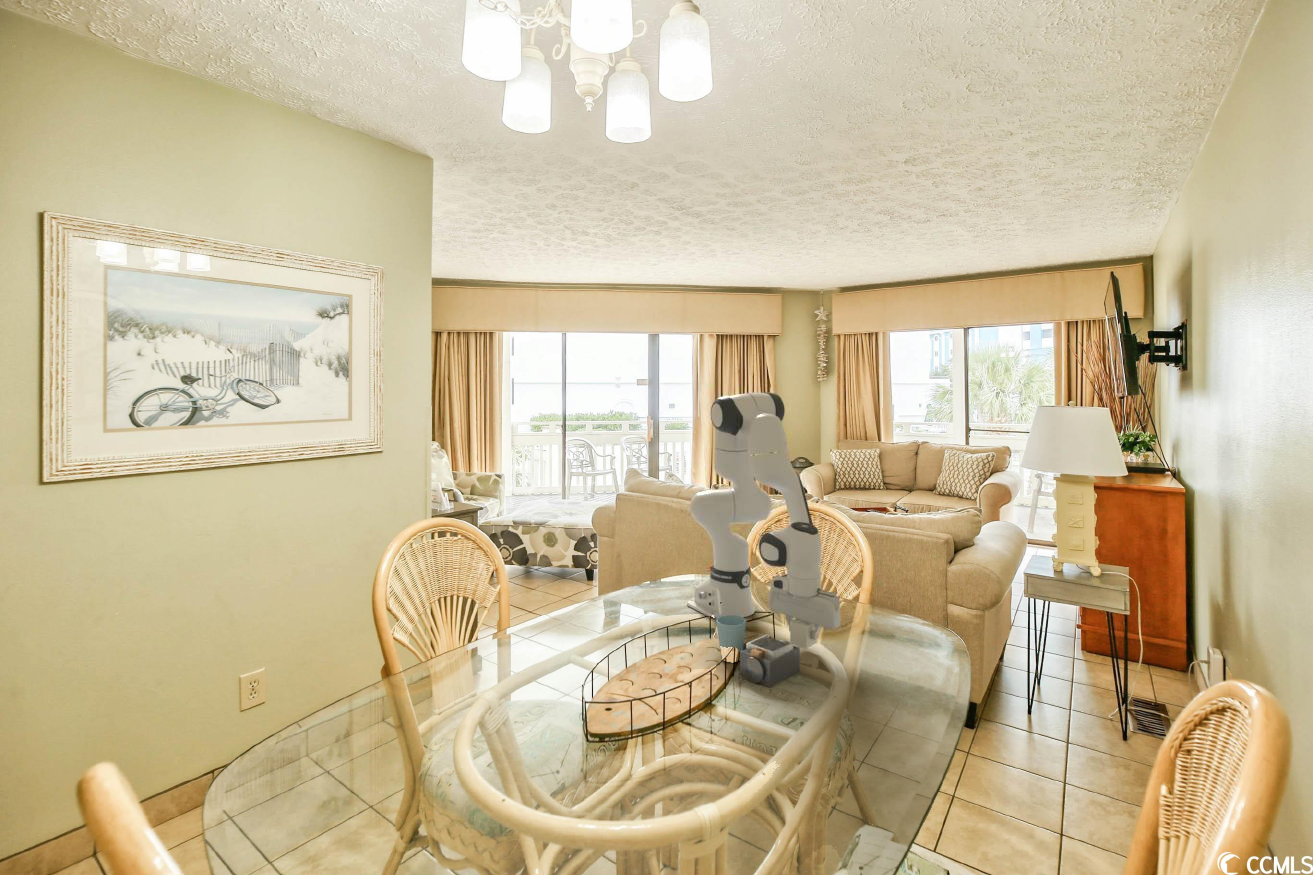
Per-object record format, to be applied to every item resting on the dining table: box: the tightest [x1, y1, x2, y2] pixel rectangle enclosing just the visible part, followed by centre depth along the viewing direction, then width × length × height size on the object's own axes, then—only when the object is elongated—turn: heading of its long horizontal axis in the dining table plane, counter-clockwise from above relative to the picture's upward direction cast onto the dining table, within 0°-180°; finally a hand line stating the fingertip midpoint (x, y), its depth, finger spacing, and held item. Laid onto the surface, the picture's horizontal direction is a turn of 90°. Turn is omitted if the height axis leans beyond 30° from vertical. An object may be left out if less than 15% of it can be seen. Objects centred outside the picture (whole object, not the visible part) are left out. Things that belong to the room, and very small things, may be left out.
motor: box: [739, 634, 801, 688], centre depth 152 cm, size 9×14×8 cm, turn 132°
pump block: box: [789, 618, 818, 650], centre depth 164 cm, size 5×6×6 cm
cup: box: [715, 615, 747, 652], centre depth 160 cm, size 8×8×10 cm
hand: (803, 635), depth 164 cm, fingers closed on pump block, 5 cm apart
